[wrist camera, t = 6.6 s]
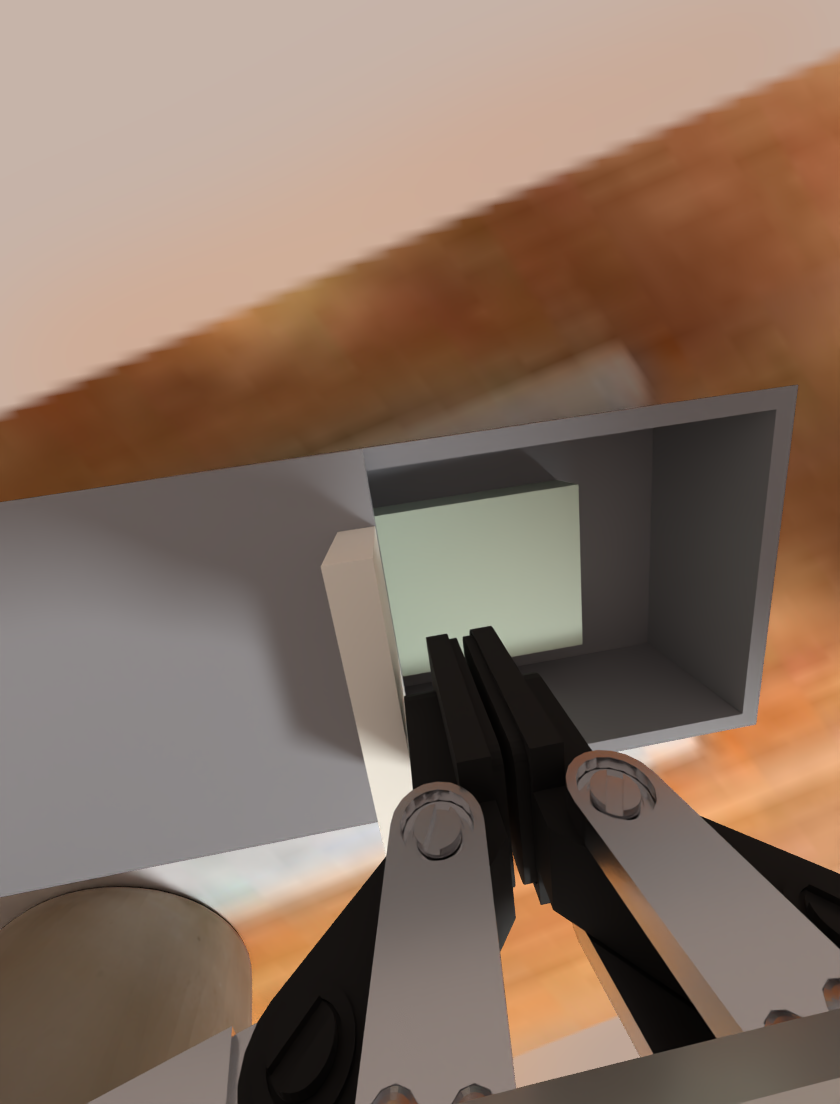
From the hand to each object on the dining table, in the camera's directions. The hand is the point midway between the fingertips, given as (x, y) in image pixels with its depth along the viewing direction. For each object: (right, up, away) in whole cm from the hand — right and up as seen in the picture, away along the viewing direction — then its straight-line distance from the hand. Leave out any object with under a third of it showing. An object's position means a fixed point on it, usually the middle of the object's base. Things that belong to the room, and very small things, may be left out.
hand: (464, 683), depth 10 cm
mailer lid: (-12, -1, +2) cm, 12 cm away
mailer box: (0, +3, +9) cm, 9 cm away
